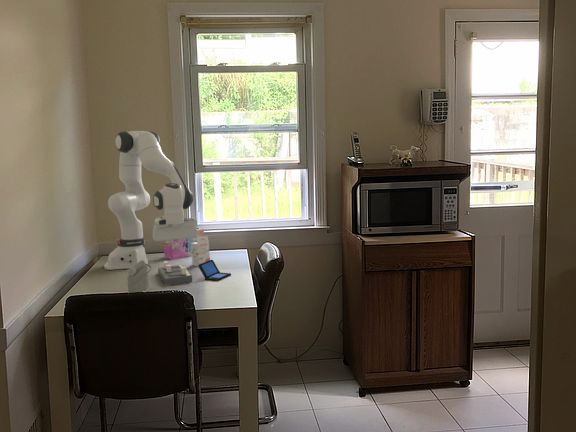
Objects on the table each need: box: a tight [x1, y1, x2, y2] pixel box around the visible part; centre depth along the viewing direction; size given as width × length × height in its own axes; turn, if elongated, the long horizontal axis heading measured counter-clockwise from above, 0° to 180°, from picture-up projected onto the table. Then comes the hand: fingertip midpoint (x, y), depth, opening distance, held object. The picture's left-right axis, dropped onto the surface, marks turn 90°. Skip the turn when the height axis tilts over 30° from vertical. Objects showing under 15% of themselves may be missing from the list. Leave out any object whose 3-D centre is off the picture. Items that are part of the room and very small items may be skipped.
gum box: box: [163, 227, 205, 260], centre depth 331 cm, size 24×8×14 cm, turn 134°
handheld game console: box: [198, 259, 232, 282], centre depth 279 cm, size 12×11×7 cm
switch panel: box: [157, 264, 193, 286], centre depth 282 cm, size 12×24×3 cm, turn 20°
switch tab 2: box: [166, 264, 172, 272], centre depth 280 cm, size 2×3×3 cm, turn 20°
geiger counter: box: [126, 260, 152, 293], centre depth 250 cm, size 14×6×25 cm
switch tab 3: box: [180, 266, 187, 275], centre depth 275 cm, size 2×3×3 cm, turn 20°
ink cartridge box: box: [191, 235, 211, 267], centre depth 307 cm, size 9×5×15 cm, turn 143°
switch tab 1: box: [163, 260, 170, 269], centre depth 288 cm, size 2×3×3 cm, turn 20°
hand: (175, 249), depth 272 cm, fingers closed
